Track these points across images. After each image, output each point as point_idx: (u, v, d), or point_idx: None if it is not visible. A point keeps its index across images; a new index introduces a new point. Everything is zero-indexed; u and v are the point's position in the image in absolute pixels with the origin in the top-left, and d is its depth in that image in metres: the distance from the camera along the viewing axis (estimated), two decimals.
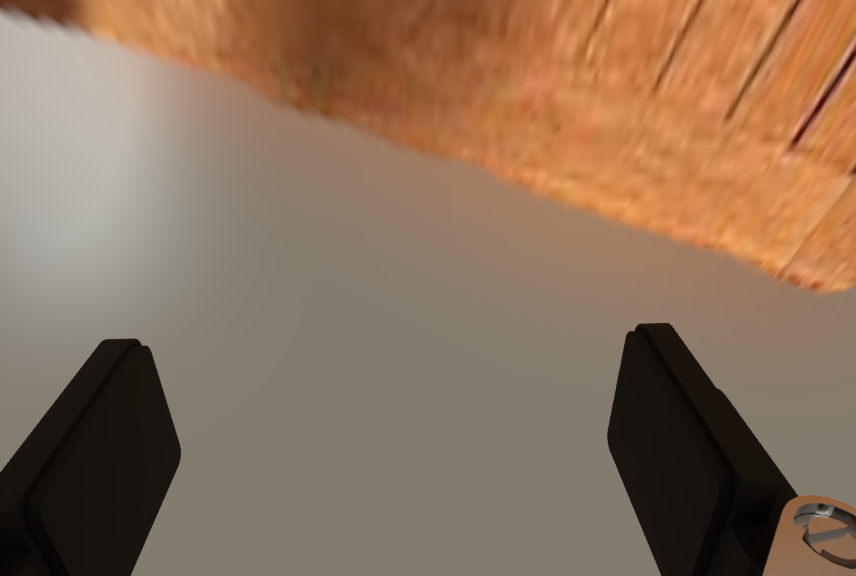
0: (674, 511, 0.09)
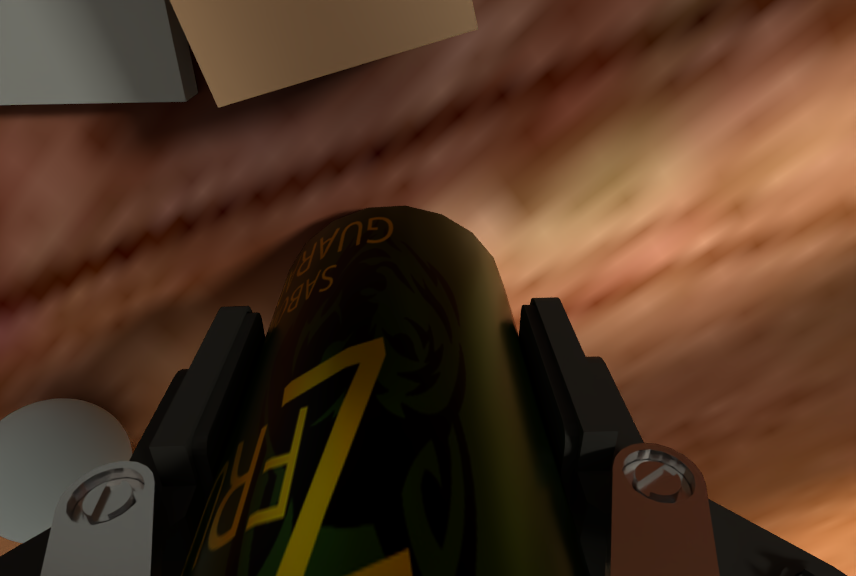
0: None
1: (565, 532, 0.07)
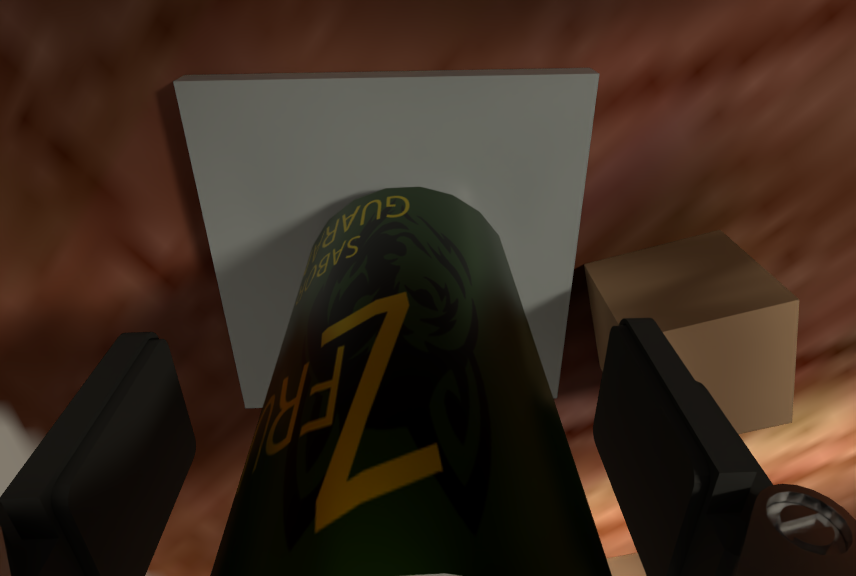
0: (654, 501, 0.09)
1: (563, 448, 0.08)
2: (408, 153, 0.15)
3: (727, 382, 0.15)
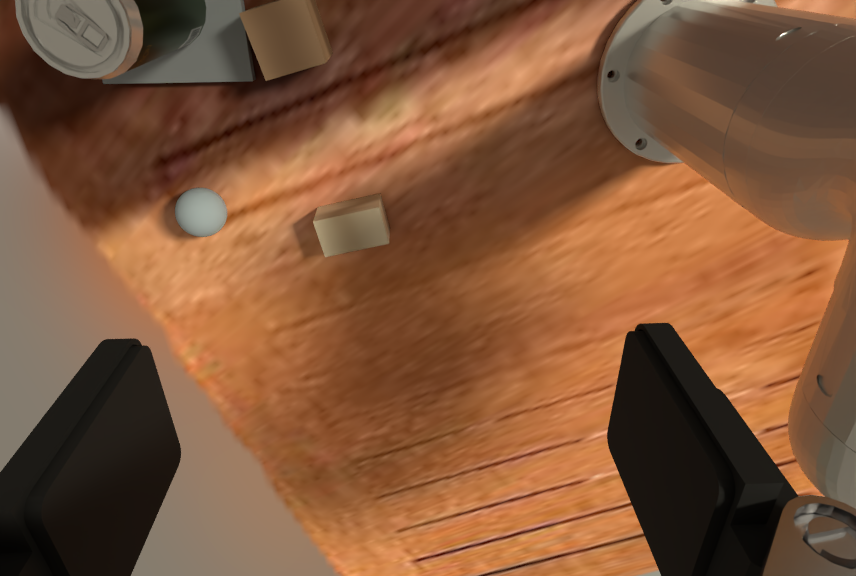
0: (673, 511, 0.09)
1: None
2: None
3: (289, 38, 0.35)
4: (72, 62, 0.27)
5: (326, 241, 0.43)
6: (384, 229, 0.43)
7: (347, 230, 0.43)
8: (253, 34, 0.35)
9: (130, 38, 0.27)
